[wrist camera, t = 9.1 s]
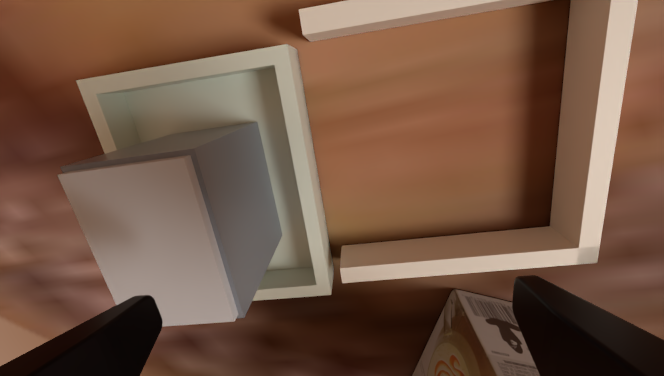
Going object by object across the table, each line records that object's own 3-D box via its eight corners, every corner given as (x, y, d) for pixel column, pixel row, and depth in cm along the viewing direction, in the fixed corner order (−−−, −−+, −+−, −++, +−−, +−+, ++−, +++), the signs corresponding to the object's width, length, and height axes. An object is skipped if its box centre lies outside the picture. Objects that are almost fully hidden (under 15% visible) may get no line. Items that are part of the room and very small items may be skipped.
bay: (597, -32, 14) (646, -55, 12) (566, 239, 18) (597, 262, 16) (307, 20, 15) (298, 9, 13) (343, 259, 20) (342, 283, 18)
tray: (297, 49, 16) (287, 44, 14) (333, 269, 20) (331, 294, 18) (114, 80, 17) (75, 80, 15) (185, 282, 21) (165, 307, 19)
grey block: (257, 121, 17) (187, 150, 10) (282, 235, 19) (240, 325, 12) (172, 133, 17) (49, 169, 10) (206, 242, 19) (124, 333, 13)
